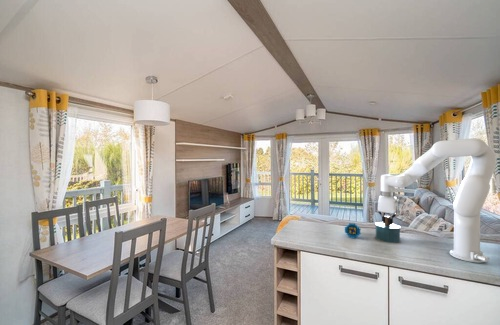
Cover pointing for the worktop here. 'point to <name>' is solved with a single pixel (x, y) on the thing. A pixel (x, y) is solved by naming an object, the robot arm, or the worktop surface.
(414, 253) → the worktop surface
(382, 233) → the tin
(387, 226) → the tin lid
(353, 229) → the toy flower
